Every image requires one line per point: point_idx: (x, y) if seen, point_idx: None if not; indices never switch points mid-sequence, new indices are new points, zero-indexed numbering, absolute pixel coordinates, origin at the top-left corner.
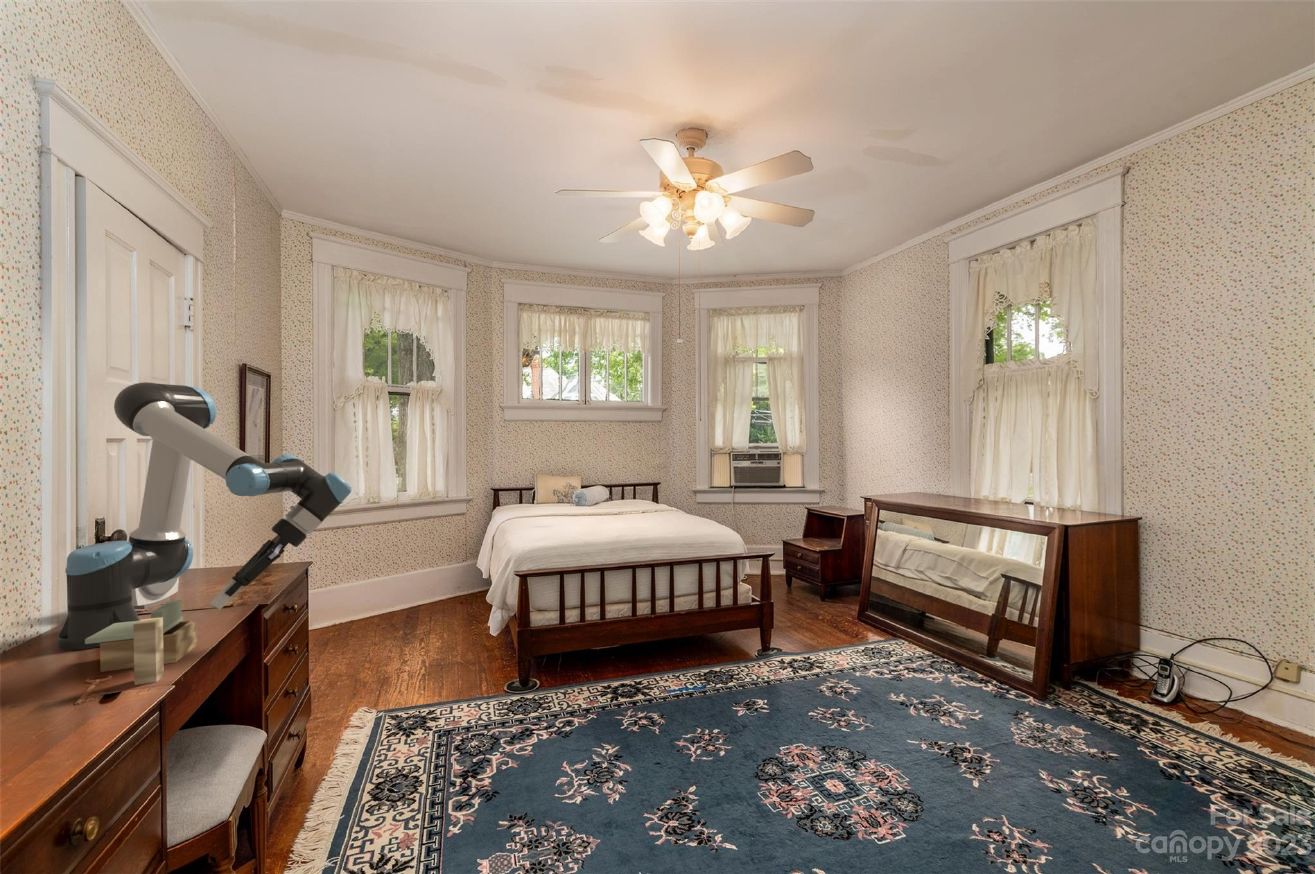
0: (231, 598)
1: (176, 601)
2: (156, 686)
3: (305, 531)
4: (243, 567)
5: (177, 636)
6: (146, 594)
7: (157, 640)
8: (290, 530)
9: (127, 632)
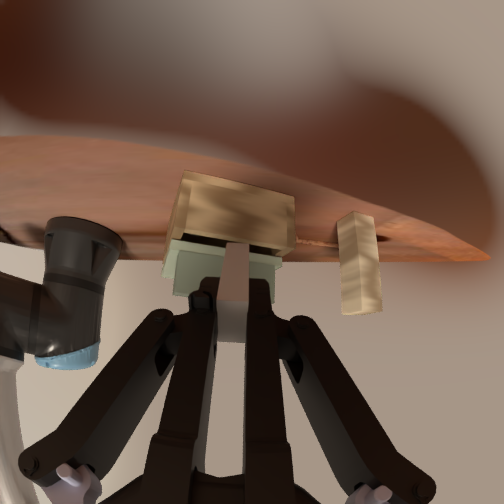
0: (248, 266)
1: (185, 294)
2: (391, 219)
3: None
4: (163, 380)
5: (285, 240)
6: None
7: (375, 277)
8: None
9: None
